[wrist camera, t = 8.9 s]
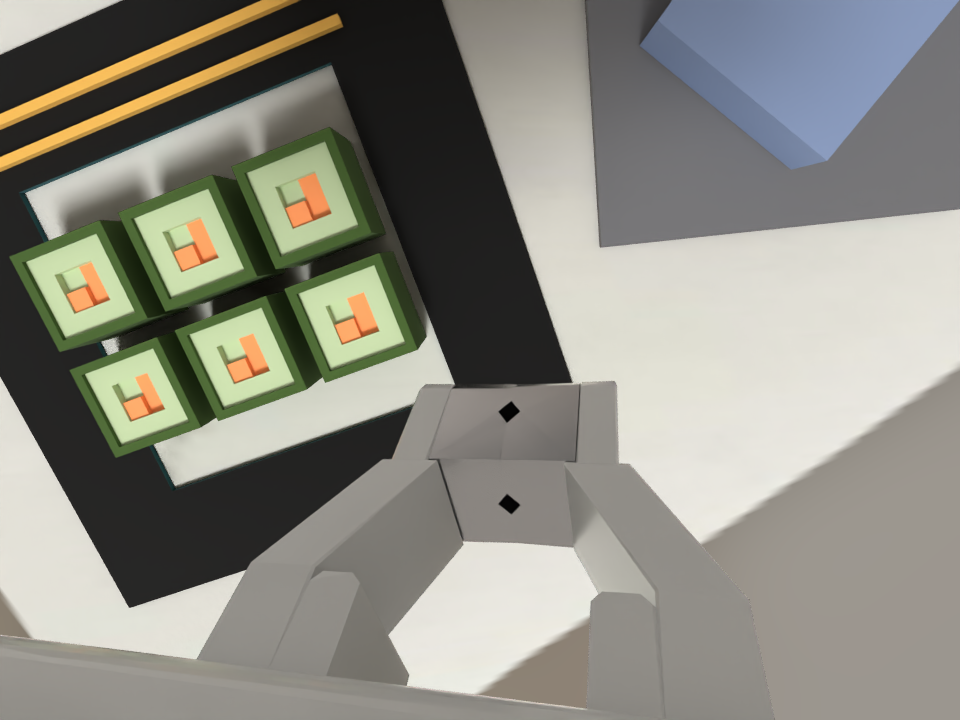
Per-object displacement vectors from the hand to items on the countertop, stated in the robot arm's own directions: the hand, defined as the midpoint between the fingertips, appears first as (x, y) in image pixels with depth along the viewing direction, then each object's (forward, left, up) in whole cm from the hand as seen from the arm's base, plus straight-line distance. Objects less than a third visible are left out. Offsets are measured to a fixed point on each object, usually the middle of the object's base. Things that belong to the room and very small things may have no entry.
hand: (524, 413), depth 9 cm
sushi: (-2, -12, -17) cm, 21 cm away
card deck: (-7, +9, -14) cm, 18 cm away
